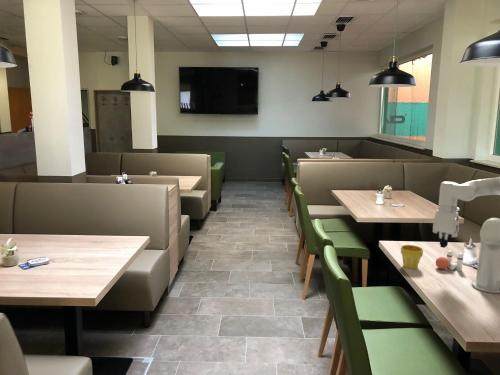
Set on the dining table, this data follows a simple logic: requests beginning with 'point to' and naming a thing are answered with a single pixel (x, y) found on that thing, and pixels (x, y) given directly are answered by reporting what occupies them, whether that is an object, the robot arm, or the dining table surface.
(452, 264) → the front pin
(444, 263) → the ball
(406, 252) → the plant pot
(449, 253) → the rear left pin
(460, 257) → the rear right pin
